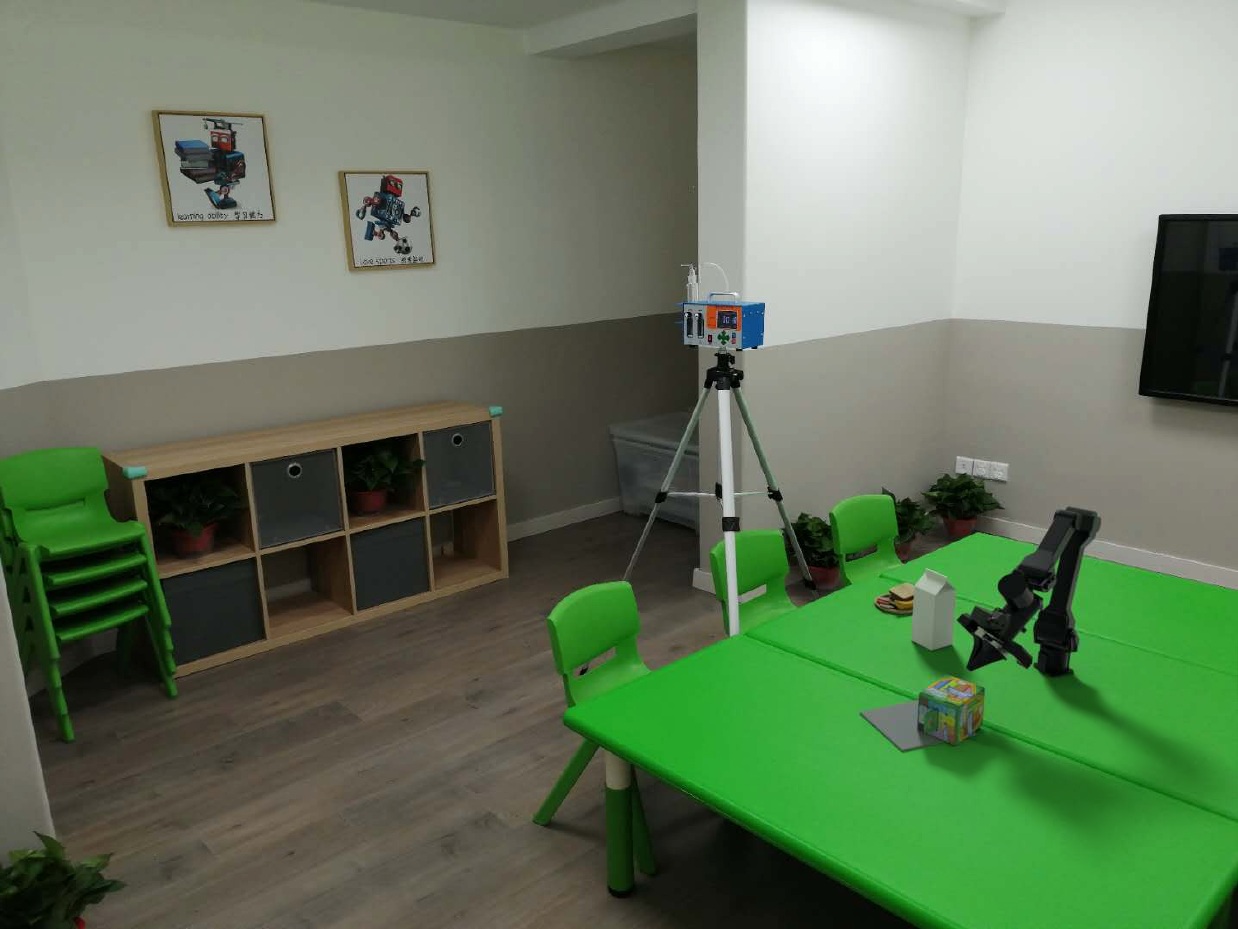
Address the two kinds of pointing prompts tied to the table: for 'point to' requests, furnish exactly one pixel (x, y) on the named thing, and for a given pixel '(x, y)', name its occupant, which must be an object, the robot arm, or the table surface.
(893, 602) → the toy sandwich meal
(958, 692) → the chalk box
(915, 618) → the milk carton
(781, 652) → the table surface
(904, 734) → the topple mat
